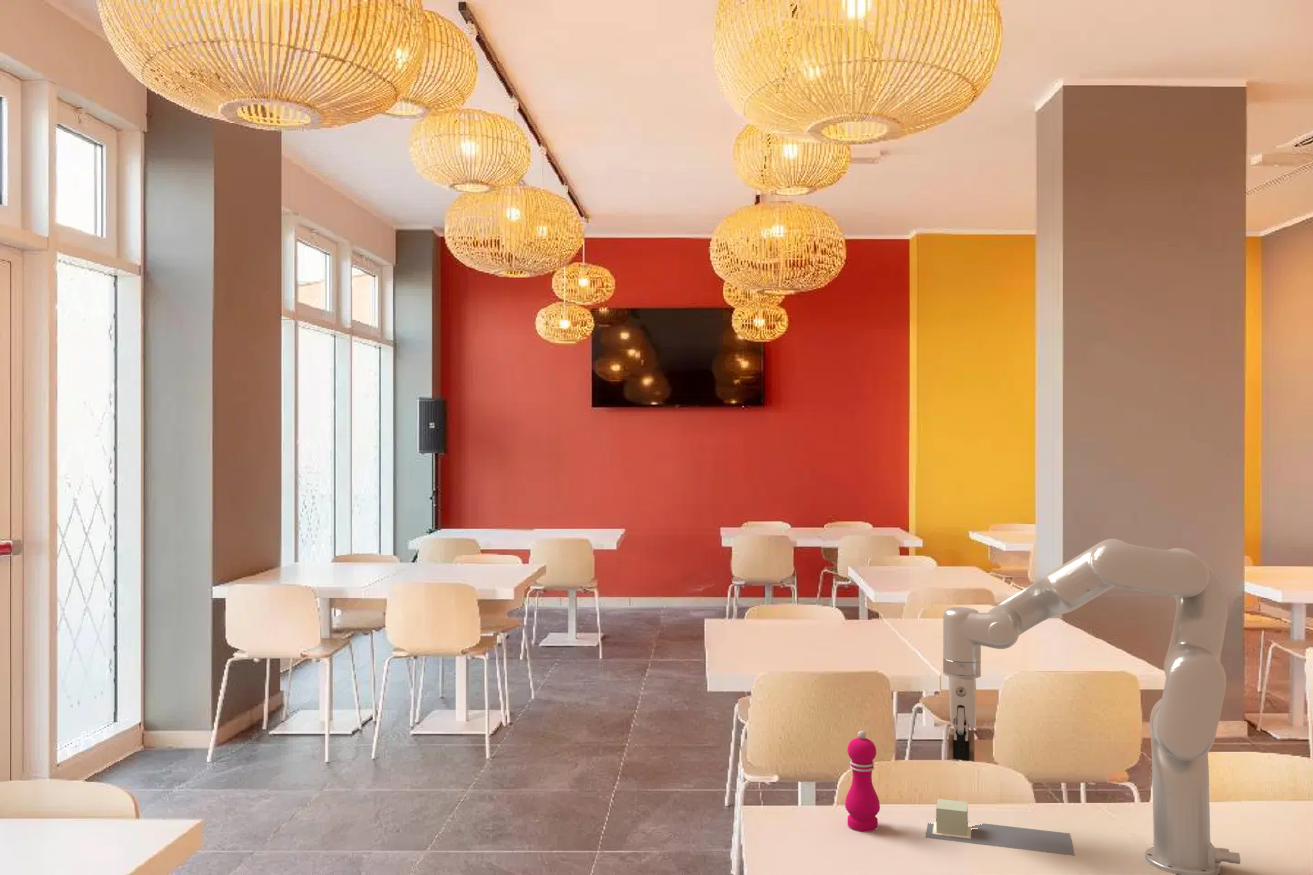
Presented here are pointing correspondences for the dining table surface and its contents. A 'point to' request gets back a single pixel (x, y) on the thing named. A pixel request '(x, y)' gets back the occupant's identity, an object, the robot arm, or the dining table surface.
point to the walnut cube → (971, 744)
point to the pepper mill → (862, 785)
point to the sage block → (951, 817)
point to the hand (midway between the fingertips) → (961, 754)
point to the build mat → (1010, 838)
